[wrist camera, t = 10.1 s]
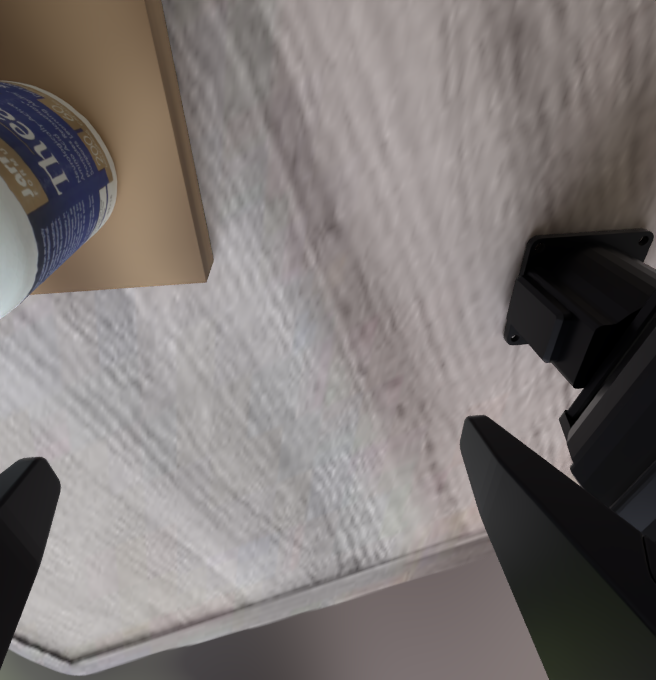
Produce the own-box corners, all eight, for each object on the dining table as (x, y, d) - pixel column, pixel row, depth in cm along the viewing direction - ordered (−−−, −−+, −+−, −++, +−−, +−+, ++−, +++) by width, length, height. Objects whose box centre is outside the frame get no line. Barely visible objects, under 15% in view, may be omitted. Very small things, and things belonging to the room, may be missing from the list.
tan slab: (159, -7, 14) (140, -18, 12) (213, 260, 20) (206, 282, 18) (-146, 1, 14) (-218, -9, 12) (-1, 274, 19) (-33, 299, 17)
